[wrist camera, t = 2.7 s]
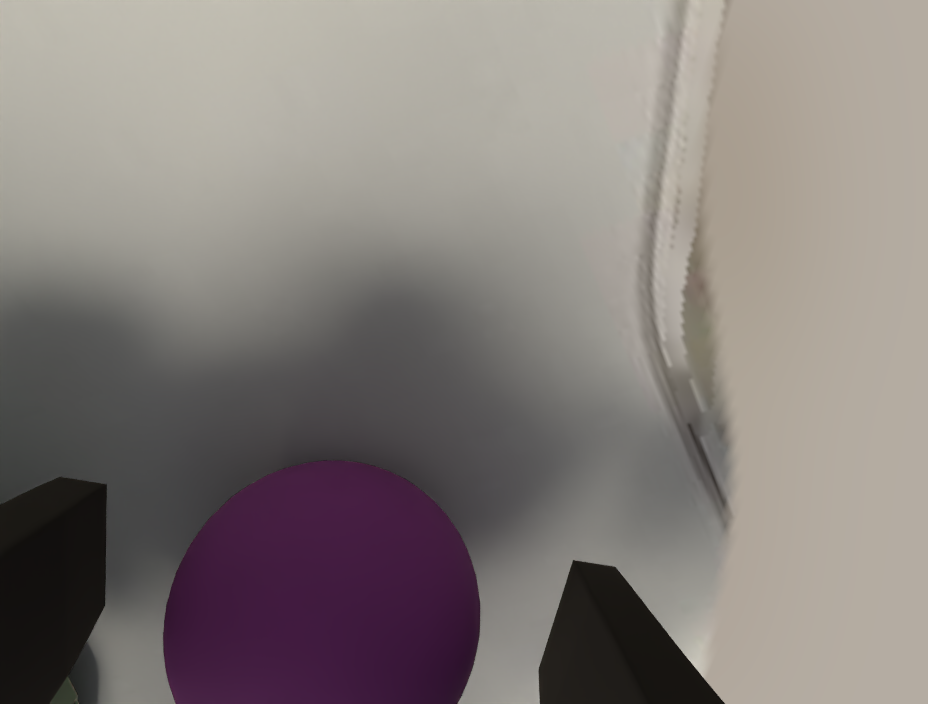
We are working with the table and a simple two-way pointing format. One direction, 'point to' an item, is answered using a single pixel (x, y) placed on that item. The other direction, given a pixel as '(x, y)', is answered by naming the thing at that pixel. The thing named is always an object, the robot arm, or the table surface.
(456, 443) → the table surface
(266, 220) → the table surface
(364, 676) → the ball
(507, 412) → the table surface
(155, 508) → the table surface
